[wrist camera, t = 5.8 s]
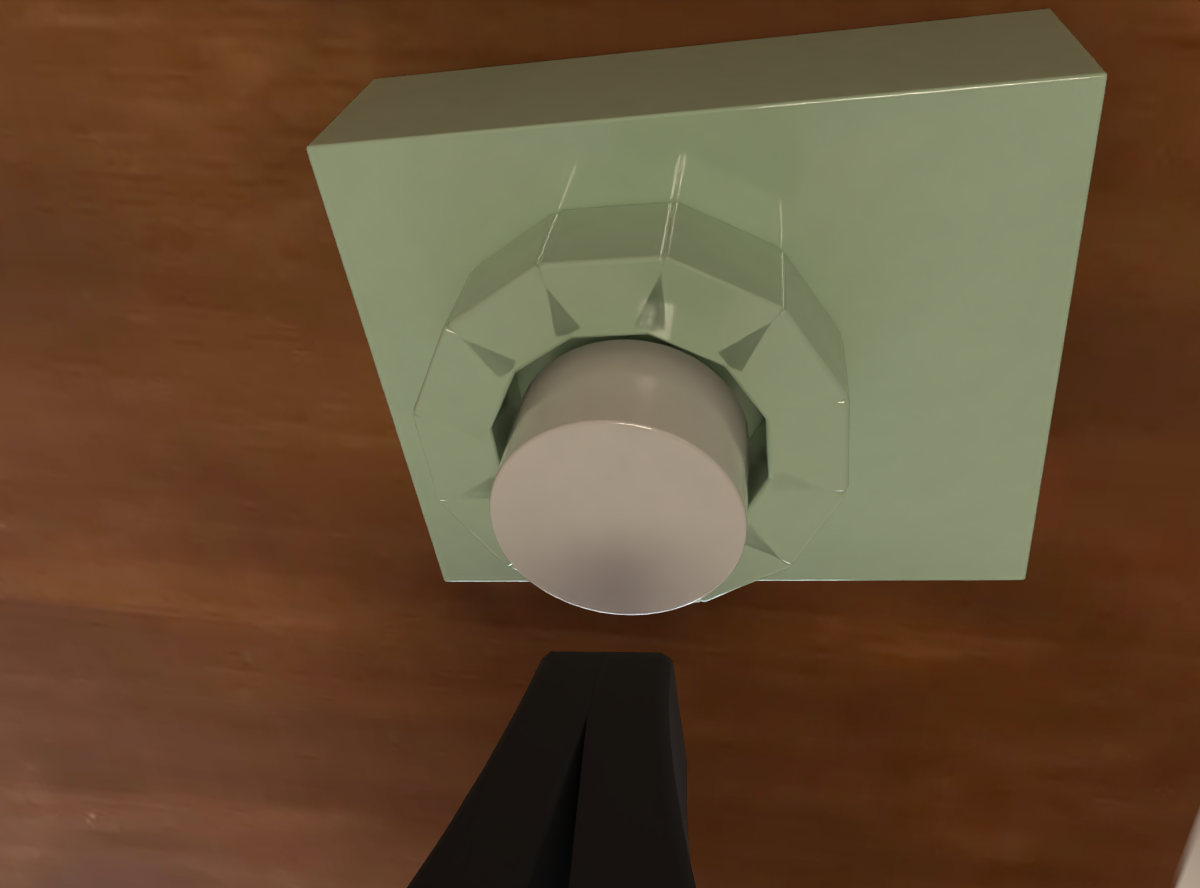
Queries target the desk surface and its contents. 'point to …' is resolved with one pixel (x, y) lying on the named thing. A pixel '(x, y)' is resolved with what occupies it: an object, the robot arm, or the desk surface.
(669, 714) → the robot arm
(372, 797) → the desk surface
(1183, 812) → the desk surface
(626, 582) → the beige button cap
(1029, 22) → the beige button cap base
